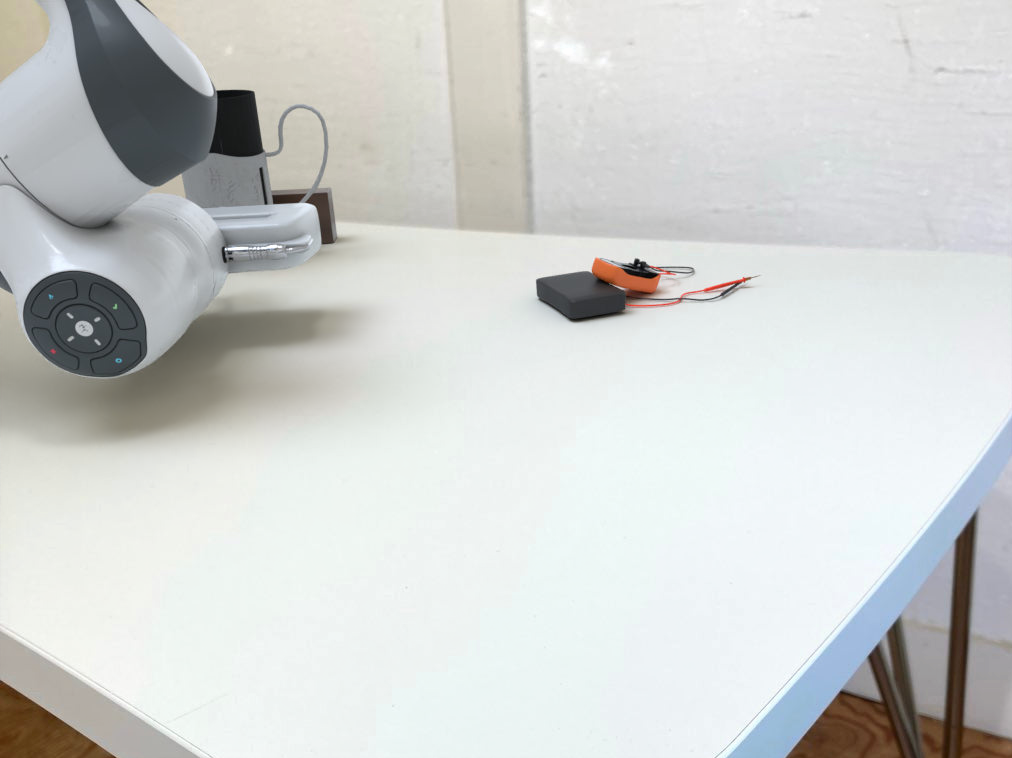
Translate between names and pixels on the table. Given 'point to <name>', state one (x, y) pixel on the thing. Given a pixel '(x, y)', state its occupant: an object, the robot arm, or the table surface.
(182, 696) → the table surface
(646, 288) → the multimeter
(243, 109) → the glass holder
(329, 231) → the bar
